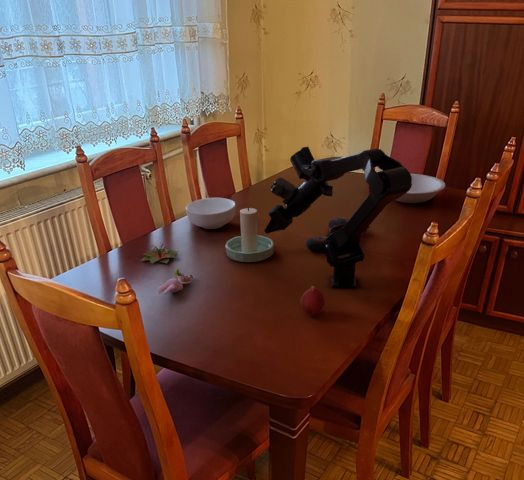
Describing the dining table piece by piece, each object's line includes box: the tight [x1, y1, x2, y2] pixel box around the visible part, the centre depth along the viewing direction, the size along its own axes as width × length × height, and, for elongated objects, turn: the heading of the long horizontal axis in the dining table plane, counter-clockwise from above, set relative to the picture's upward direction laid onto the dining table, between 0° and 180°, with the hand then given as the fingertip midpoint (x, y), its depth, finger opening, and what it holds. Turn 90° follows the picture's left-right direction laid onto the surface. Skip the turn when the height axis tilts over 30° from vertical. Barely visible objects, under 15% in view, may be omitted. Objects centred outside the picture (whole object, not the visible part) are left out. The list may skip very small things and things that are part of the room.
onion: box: [300, 285, 326, 317], centre depth 132 cm, size 6×6×8 cm
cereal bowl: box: [185, 197, 237, 230], centre depth 185 cm, size 17×17×7 cm
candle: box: [239, 207, 259, 253], centre depth 162 cm, size 5×5×14 cm
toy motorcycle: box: [305, 217, 370, 253], centre depth 171 cm, size 25×5×16 cm
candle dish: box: [225, 234, 275, 263], centre depth 165 cm, size 14×14×3 cm
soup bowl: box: [395, 173, 446, 204], centre depth 201 cm, size 24×24×7 cm
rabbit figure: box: [157, 268, 194, 295], centre depth 145 cm, size 6×6×15 cm
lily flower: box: [141, 242, 179, 265], centre depth 164 cm, size 12×12×5 cm
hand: (271, 226), depth 158 cm, fingers open, 9 cm apart
